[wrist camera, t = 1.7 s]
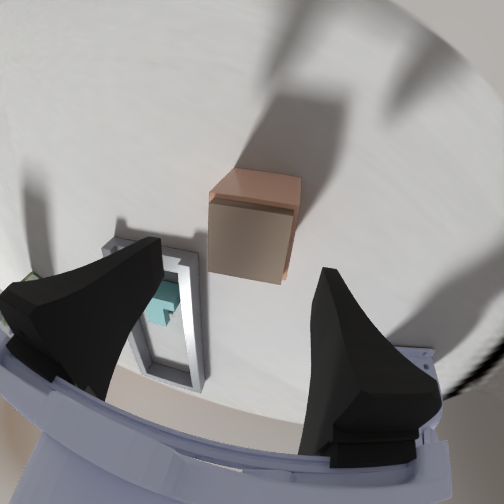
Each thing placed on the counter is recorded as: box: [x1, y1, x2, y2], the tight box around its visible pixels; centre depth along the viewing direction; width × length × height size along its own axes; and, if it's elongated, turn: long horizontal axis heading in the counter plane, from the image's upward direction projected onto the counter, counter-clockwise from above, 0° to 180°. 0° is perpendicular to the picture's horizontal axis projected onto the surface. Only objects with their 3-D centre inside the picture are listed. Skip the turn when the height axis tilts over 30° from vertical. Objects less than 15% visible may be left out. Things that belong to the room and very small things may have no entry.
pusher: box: [146, 281, 181, 326], centre depth 24 cm, size 6×5×2 cm
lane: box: [101, 237, 205, 393], centre depth 27 cm, size 8×20×2 cm, turn 175°
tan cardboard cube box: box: [208, 168, 301, 285], centre depth 16 cm, size 4×4×6 cm
